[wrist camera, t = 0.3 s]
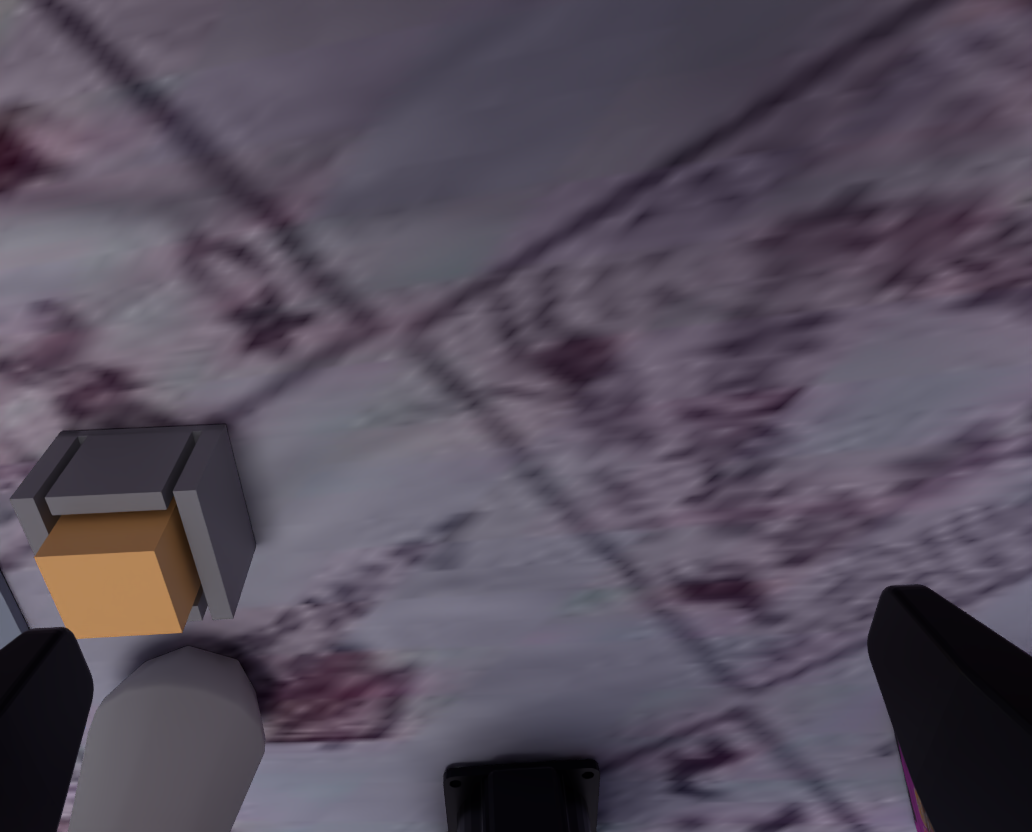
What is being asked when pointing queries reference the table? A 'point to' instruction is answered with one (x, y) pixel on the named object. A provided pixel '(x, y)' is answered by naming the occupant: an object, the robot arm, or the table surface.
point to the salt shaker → (171, 748)
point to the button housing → (151, 496)
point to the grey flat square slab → (9, 616)
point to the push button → (120, 572)
